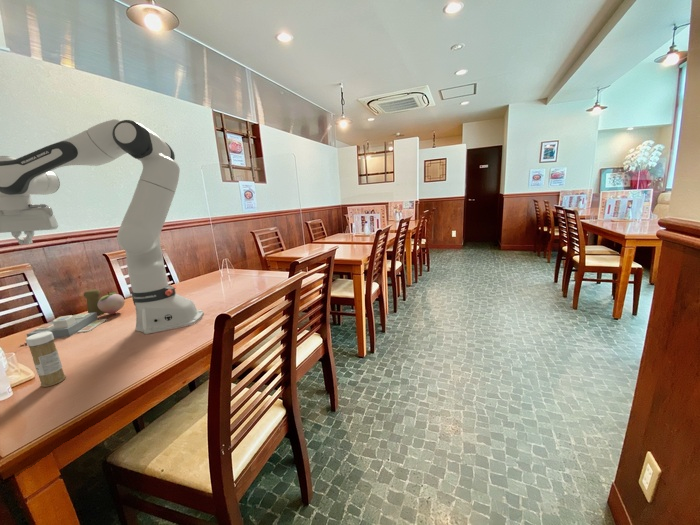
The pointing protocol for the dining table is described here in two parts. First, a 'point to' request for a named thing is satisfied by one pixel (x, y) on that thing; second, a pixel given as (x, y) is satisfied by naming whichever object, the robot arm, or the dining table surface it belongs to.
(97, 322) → the strip
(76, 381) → the dining table surface
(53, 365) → the sprinkles bottle
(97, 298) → the olive green cup
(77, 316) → the key
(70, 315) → the key
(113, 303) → the decorative fruit
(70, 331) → the keypad board
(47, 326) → the key
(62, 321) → the key
